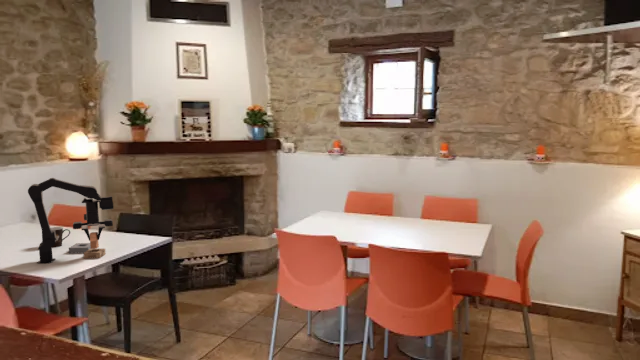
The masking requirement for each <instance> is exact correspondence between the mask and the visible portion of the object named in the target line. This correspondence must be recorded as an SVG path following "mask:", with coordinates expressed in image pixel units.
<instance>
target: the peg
mask: <svg viewBox="0 0 640 360" xmlns="http://www.w3.org/2000/svg"><path fill="white" fill-rule="evenodd" d="M89 235H90V241H89V243H90V246H91V249H99V246H100V245H99V240H98V231H91V232H89Z"/></svg>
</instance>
